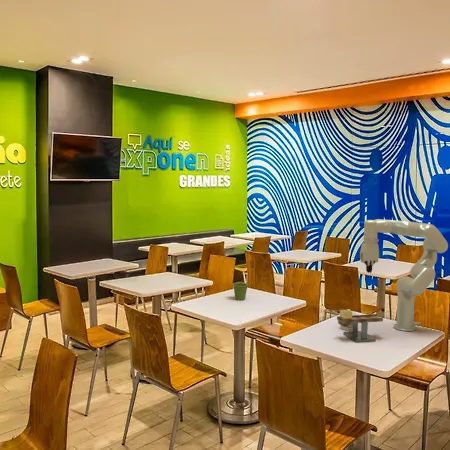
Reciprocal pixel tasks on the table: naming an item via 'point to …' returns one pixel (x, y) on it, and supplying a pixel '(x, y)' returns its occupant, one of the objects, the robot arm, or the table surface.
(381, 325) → the table surface
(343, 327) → the teacup with lid
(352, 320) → the balance beam
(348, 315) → the block
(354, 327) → the pivot stand
